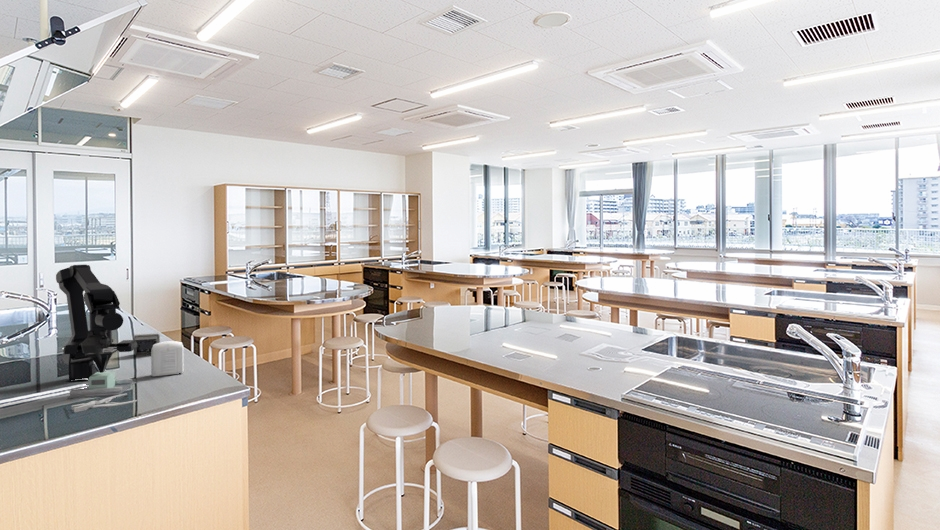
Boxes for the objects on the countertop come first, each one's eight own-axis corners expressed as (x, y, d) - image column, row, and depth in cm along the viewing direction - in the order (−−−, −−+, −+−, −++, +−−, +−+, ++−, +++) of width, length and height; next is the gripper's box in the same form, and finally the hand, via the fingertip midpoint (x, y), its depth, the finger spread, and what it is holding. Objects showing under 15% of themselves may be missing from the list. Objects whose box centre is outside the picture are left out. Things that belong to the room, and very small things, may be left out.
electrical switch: (161, 352, 207) (160, 331, 206) (159, 356, 203) (158, 335, 201) (134, 354, 203) (133, 333, 201) (132, 358, 198) (131, 337, 197)
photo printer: (183, 370, 183) (183, 338, 182) (184, 373, 179) (183, 341, 178) (151, 374, 177) (150, 341, 176) (151, 377, 173) (150, 344, 172)
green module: (89, 392, 155) (88, 377, 155) (97, 386, 161) (97, 371, 161) (107, 391, 157) (106, 376, 156) (115, 385, 163) (114, 371, 162)
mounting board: (67, 398, 151) (67, 392, 151) (86, 385, 163) (86, 379, 163) (119, 395, 155) (119, 389, 155) (134, 382, 167) (134, 377, 167)
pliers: (137, 397, 150) (77, 411, 138) (137, 402, 150) (77, 416, 138) (126, 390, 156) (67, 403, 144) (126, 395, 156) (67, 408, 144)
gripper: (53, 332, 147) (55, 381, 148) (124, 330, 153) (125, 378, 154) (71, 324, 158) (73, 371, 159) (137, 323, 163) (138, 368, 164)
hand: (102, 372), depth 159 cm, fingers closed
